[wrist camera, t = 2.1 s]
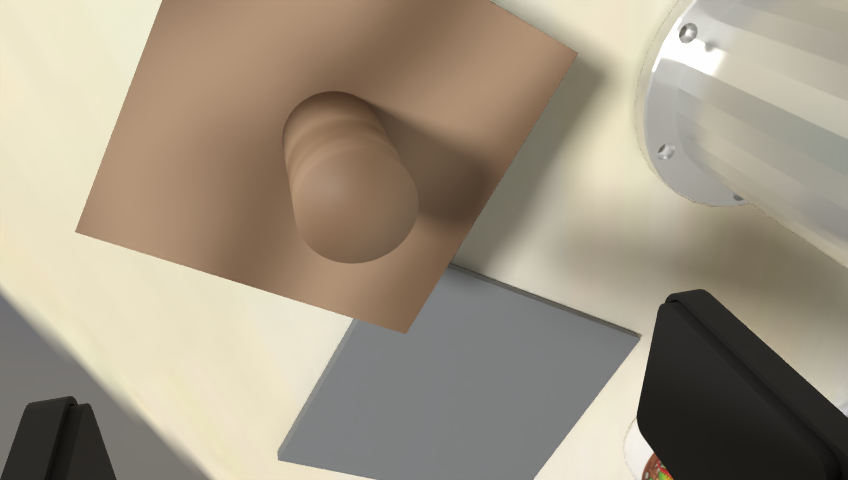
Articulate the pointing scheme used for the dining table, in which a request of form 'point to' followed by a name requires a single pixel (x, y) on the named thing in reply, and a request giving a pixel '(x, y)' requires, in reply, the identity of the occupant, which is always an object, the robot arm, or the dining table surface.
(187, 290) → the dining table surface
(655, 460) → the milk bottle
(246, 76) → the lid
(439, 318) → the mat
